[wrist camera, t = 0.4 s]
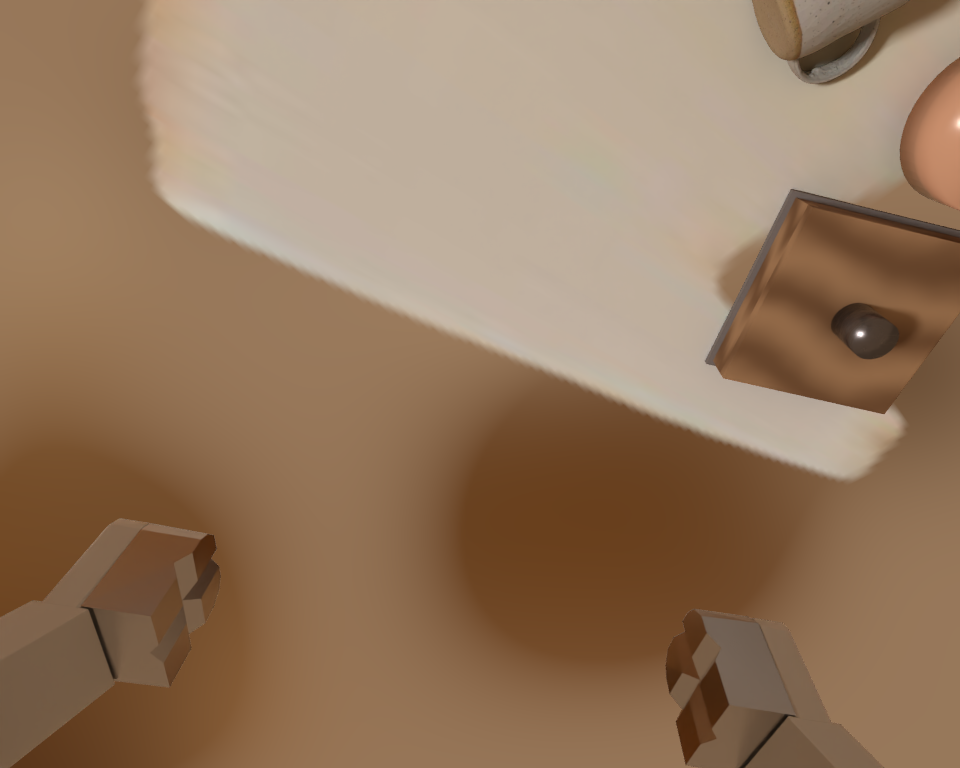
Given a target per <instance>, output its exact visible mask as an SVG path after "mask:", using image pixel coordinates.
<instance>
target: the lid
mask: <svg viewBox="0 0 960 768" xmlns="http://www.w3.org/2000/svg"><path fill="white" fill-rule="evenodd" d="M959 313H960V237H956V236H952V235H948V234H943V233H939V232H935V231H931V230H927V229H923V228H919V227H915V226H911V225H907V224H903V223H898V222H894V221H890V220H886V219H882V218H878V217H874V216H870V215H866V214H862V213H858V212H853V211H849V210H845V209H841V208H837V207H833V206H829V205H825V204H821V203H817V202H813V201H808V200H804V199H800V198H795V200H794V202H793V204H792V206H791V208H790V210H789V212H788V214H787V216H786V218H785V220H784V222H783V224H782V226H781V228H780V230H779V232H778V234H777V236H776V238H775V240H774V242H773V244H772V245H771V247H770V249H769V251H768V253H767V255H766V257H765V259H764V261H763V263H762V265H761V267H760V269H759V271H758V273H757V275H756V277H755V279H754V281H753V283H752V285H751V287H750V289H749V291H748V293H747V295H746V297H745V299H744V301H743V303H742V305H741V307H740V308H739V310H738V312H737V314H736V316H735V318H734V320H733V322H732V324H731V326H730V328H729V330H728V332H727V334H726V336H725V338H724V340H723V342H722V344H721V346H720V348H719V350H718V352H717V354H716V356H715V358H714V360H713V362H714V363H715V365H716V367H717V369H718V370H719V372H720V374H721V375H722V377H723V378H725V379H729V380H734V381H738V382H743V383H747V384H752V385H756V386H760V387H765V388H769V389H774V390H778V391H783V392H787V393H792V394H796V395H801V396H805V397H810V398H814V399H818V400H823V401H827V402H832V403H836V404H841V405H845V406H850V407H854V408H859V409H863V410H867V411H872V412H876V413H881V414H885V413H886V411H887V410H888V409H889V407H890V406H891V405H892V403H893V402H894V400H895V399H896V398H897V396H898V395H899V394H900V392H901V391H902V389H903V388H904V387H905V386H906V384H907V383H908V382H909V380H910V379H911V378H912V376H913V375H914V373H915V372H916V371H917V369H918V368H919V367H920V366H921V364H922V363H923V361H924V360H925V359H926V357H927V356H928V355H929V353H930V352H931V351H932V349H933V348H934V347H935V345H936V344H937V343H938V341H939V340H940V339H941V337H942V336H943V335H944V333H945V332H946V330H947V329H948V328H949V326H950V325H951V324H952V323H953V321H954V320H955V319H956V317H957V316H958V315H959Z"/></svg>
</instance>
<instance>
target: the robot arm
mask: <svg viewBox="0 0 960 768" xmlns="http://www.w3.org/2000/svg"><path fill="white" fill-rule="evenodd" d="M216 549H217V548H216V543H215V538H214V535H210V534H205V533H200V532H194V531H189V530H184V529H178V528H173V527H167V526H162V525H156V524H151V523H145V522H139V521H133V520H127V519H121V518H120V519H118V520H116V521H115V522H113V523H111V524H110V525H108V526H107V528H106V529H105V530H104V531H103V532H102V533H101V535H100V536H99V537H98V538H97V539H96V540H95V542H94V543H93V544H92V545H91V546H90V547H89V548H88V550H87V551H86V552H85V553H84V554H83V555H82V556H81V558H80V559H79V560H78V561H77V562H76V563H75V565H74V566H73V567H72V568H71V569H70V570H69V572H68V573H67V574H66V575H65V576H64V577H63V578H62V580H61V581H60V582H59V583H58V584H57V585H56V587H55V588H54V589H53V590H52V591H51V592H50V594H49V595H48V596H47V597H46V598H45V599H44V600H43V602H41V601H31V602H29V603H27V604H25V605H23V606H21V607H19V608H17V609H15V610H13V611H12V612H10V613H8V614H6V615H4V616H2V617H0V768H9V767H11V766H12V765H13V764H15V763H16V762H17V761H18V760H20V759H21V758H22V757H23V756H25V755H26V754H27V753H29V752H30V751H31V750H32V749H34V748H35V747H36V746H37V745H39V744H40V743H41V742H42V741H44V740H45V739H46V738H47V737H49V736H50V735H51V734H53V733H54V732H55V731H56V730H58V729H59V728H60V727H61V726H63V725H64V724H65V723H66V722H68V721H69V720H70V719H72V718H73V717H74V716H75V715H76V714H78V713H79V712H80V711H82V710H83V709H84V708H85V707H87V706H88V705H89V704H90V703H92V702H93V701H94V700H95V699H97V698H98V697H99V696H100V695H102V694H103V693H104V692H106V691H107V690H108V689H109V688H111V687H112V686H113V685H114V684H115V682H114V681H121V682H129V683H138V684H145V685H154V686H162V687H170V686H171V684H172V682H173V680H174V679H175V677H176V675H177V673H178V671H179V670H180V668H181V666H182V664H183V663H184V661H185V659H186V657H187V655H188V653H189V652H190V650H191V642H190V637H189V634H190V633H191V632H193V631H194V630H195V629H197V628H199V627H200V626H201V625H203V624H204V623H205V622H206V621H207V619H208V617H209V615H210V613H211V611H212V609H213V607H214V604H215V601H216V598H217V595H218V592H219V588H220V578H221V575H220V568H219V566H218V565H217V564H216V563H215V562H214V561H213V560H212V559H211V558H212V556H213V554H214V552H215V551H216ZM683 625H684V629H685V632H683V633H681V634H679V635H677V636H675V637H673V640H672V642H671V644H670V646H669V648H668V651H667V658H666V679H667V684H668V689H669V693H670V695H671V696H672V698H673V699H674V700H675V701H676V703H677V704H678V705H679V706H680V708H681V709H682V710H681V712H680V714H679V716H678V718H677V720H676V725H677V729H678V734H679V737H680V742H681V746H682V751H683V755H684V759H685V764H686V765H688V766H693V767H699V768H884V767H883V766H882V765H881V764H880V763H879V762H878V761H877V760H876V759H875V758H874V757H873V756H872V755H871V754H870V753H869V752H868V751H867V750H866V749H865V748H864V747H863V746H862V745H861V744H860V743H859V742H858V741H857V740H856V739H855V738H854V737H853V736H852V735H851V734H850V733H849V732H848V731H847V730H846V729H845V728H844V727H843V726H842V725H841V724H837V723H832V722H831V720H830V719H829V716H828V714H827V712H826V709H825V707H824V706H823V703H822V701H821V699H820V696H819V694H818V692H817V690H816V688H815V685H814V683H813V681H812V679H811V677H810V675H809V672H808V670H807V668H806V666H805V664H804V662H803V659H802V657H801V655H800V653H799V651H798V648H797V646H796V644H795V642H794V640H793V637H792V635H791V633H790V631H789V629H788V628H787V627H786V626H785V625H784V624H783V623H781V622H775V621H769V620H762V619H755V618H749V617H747V616H740V615H733V614H726V613H718V612H712V611H704V610H698V609H693V610H691V611H689V612H688V613H687V615H686V616H685V618H684V620H683Z"/></svg>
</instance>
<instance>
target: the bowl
mask: <svg viewBox="0 0 960 768" xmlns="http://www.w3.org/2000/svg"><path fill="white" fill-rule="evenodd" d="M900 161H901V167H902V170H903V173H904V176H905V178H906V179H907V181H908V183H909V184H910V185H911V186H912V187H913V189H915V190H916V191H917V192H918V193H919V194H921V195H923V196H925V197H927V198H929V199H931V200H934V201H936V202H939V203H942V204H944V205H947V206H949V207H952V208H954V209H957V210H959V211H960V57H959V58H958V59H957V60H955V61H954V62H953V63H951V64H950V65H949V66H947V67H946V68H945V69H944V70H943V71H942V72H941V73H940V74H939V75H938V76H937V77H936V78H935V79H934V80H933V81H932V82H931V83H930V84H929V85H928V87H927V88H926V89H925V90H924V92H923V93H922V94H921V96H920V97H919V99H918V100H917V102H916V103H915V105H914V107H913V109H912V111H911V113H910V115H909V117H908V119H907V121H906V124H905V127H904V130H903V134H902V138H901V144H900Z"/></svg>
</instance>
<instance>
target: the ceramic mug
mask: <svg viewBox="0 0 960 768" xmlns="http://www.w3.org/2000/svg"><path fill="white" fill-rule="evenodd" d="M908 1H909V0H752V2H753V6H754V11H755V15H756V18H757V21H758V24H759V27H760V29H761V32H762V34H763V36H764V38H765V40H766V42H767V44H768V45H769V47H770V48H771V50H772V51H773V52H774V53H775V54H776V55H777V56H778V57H779V58H781V59H784V60H787V62H788V64H789V66H790V68H791V70H792V71H793V73H794V74H795V75H796V76H797V77H798V78H799V79H801V80H802V81H804V82H807V83H810V84H819V83H823V82H827V81H830V80H832V79H835V78H837V77H839V76H841V75H842V74H844V73H846V72H847V71H848V70H850V69H851V68H852V67H853V66H854V65H856V64H857V63H858V62H859V61H860V59H861V58H862V57H863V56H864V54H865V53H866V52H867V50H868V49H869V47H870V45H871V43H872V42H873V40H874V37H875V35H876V33H877V30H878V26H879V22H880V17H882V16H884V15H886V14H888V13H890V12H891V11H893V10H895V9H897V8H899V7H901V6H902V5H904V4H905V3H907V2H908ZM862 26H863V27H862ZM860 27H862V30H861V32H860V34H859V36H858V38H857V39H856V41H855V43H854V44H853V45H852V47H851V48H850V49H849V50H848V51H847V52H846V53H845V54H844V55H843V56H842V57H840V58H838V59H837V60H834V61H832V62H830V63H828V64H826V65H824V66H821V67H816V68H814V69H813V70H811V71H809V72H808V71H803V70H801V67H800V65H799V58H802V57H804V56H807V55H809V54H812V53H814V52H816V51H818V50H820V49H822V48H824V47H825V46H827V45H829V44H831V43H832V42H834V41H836V40H837V39H839V38H841V37H843V36H845V35H847V34H849V33H851V32H853V31H855V30H856V29H858V28H860Z"/></svg>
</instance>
